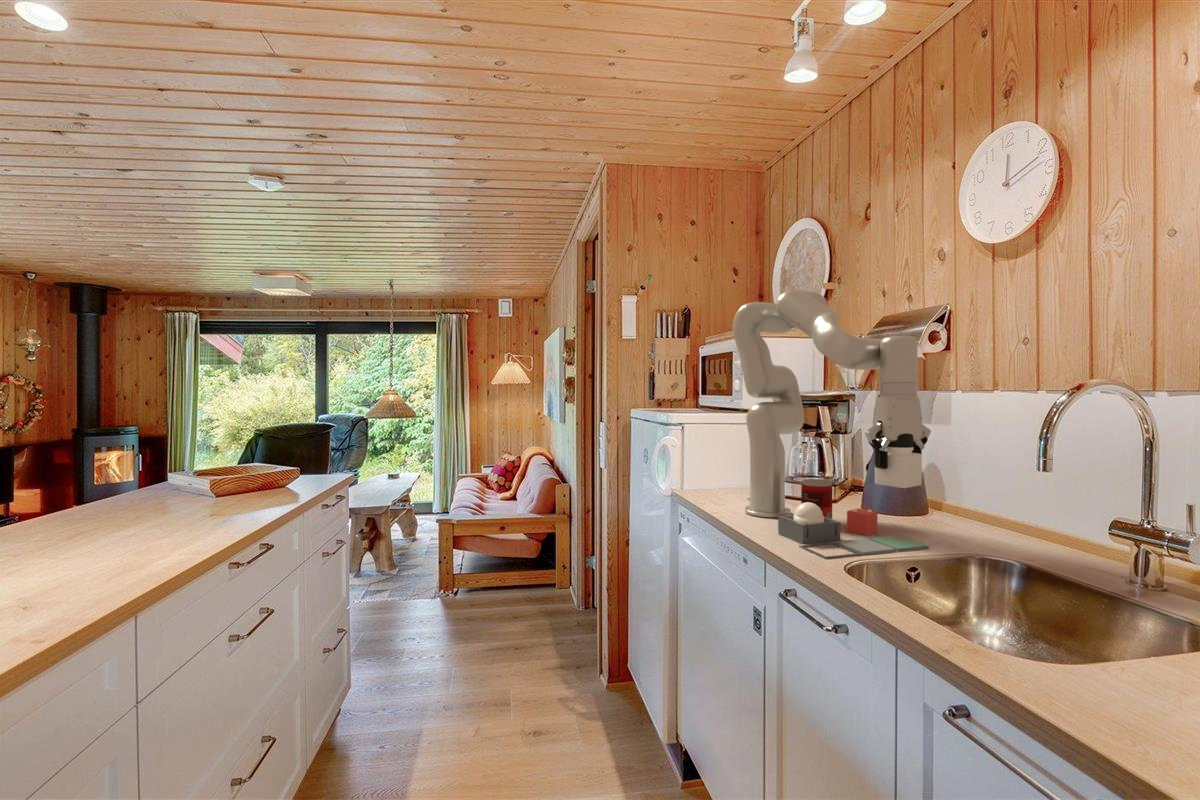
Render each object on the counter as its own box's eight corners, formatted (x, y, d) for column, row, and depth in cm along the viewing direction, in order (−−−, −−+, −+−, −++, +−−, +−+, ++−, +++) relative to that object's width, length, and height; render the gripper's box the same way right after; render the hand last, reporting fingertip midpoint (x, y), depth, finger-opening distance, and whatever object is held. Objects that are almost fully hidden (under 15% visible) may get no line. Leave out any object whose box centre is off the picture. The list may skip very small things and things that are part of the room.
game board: (799, 547, 129) (799, 544, 129) (897, 537, 136) (897, 535, 136) (825, 558, 120) (825, 556, 120) (929, 548, 127) (929, 545, 127)
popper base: (778, 533, 140) (778, 515, 140) (813, 530, 143) (813, 512, 143) (803, 544, 131) (803, 525, 131) (840, 541, 133) (840, 522, 133)
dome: (787, 526, 139) (787, 500, 139) (812, 524, 141) (812, 499, 141) (804, 533, 133) (804, 506, 132) (830, 531, 134) (830, 504, 134)
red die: (847, 531, 143) (847, 508, 142) (858, 527, 146) (858, 506, 145) (866, 535, 139) (866, 512, 138) (877, 531, 141) (877, 509, 141)
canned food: (827, 519, 155) (827, 479, 155) (836, 526, 147) (836, 484, 147) (798, 519, 156) (798, 478, 155) (805, 526, 148) (805, 483, 147)
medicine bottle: (922, 485, 129) (922, 432, 129) (905, 488, 125) (905, 433, 125) (890, 481, 135) (891, 430, 135) (874, 484, 131) (874, 431, 131)
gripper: (916, 390, 135) (916, 463, 136) (854, 391, 131) (854, 466, 131) (943, 390, 128) (943, 467, 129) (878, 391, 124) (878, 471, 124)
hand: (898, 467), depth 130 cm, fingers closed on medicine bottle, 8 cm apart
